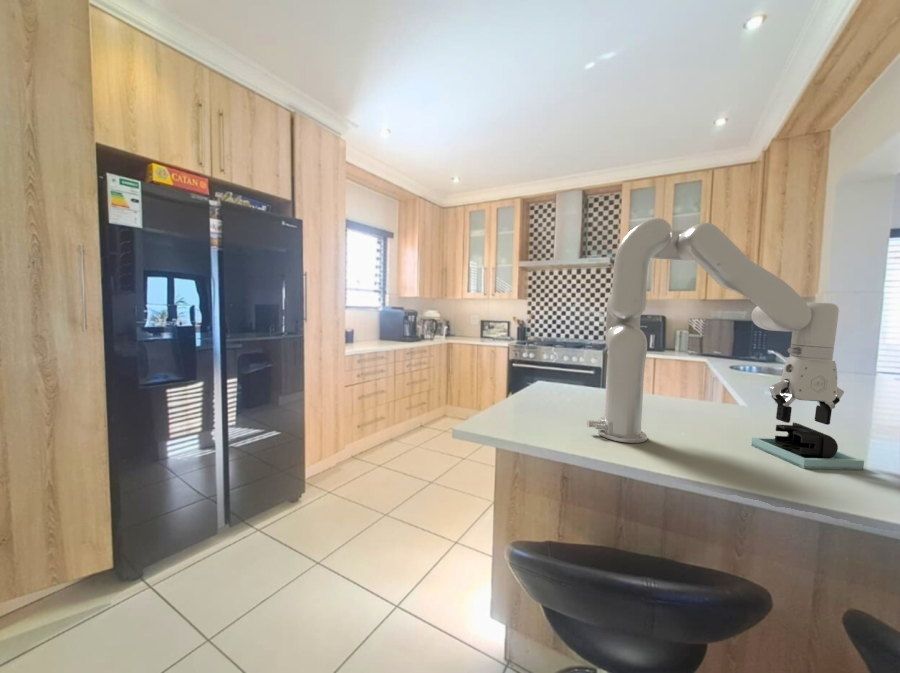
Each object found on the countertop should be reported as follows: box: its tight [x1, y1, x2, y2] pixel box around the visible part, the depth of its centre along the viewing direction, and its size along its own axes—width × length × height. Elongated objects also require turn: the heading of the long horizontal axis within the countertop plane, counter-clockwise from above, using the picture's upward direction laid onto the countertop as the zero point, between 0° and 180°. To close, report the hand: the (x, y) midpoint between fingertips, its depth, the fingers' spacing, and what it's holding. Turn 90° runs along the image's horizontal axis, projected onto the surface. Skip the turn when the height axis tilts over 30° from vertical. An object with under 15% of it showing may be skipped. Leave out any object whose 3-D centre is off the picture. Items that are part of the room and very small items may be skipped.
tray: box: [751, 437, 865, 471], centre depth 91 cm, size 14×15×2 cm
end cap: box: [774, 422, 839, 459], centre depth 90 cm, size 10×7×7 cm
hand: (802, 421), depth 91 cm, fingers open, 9 cm apart
